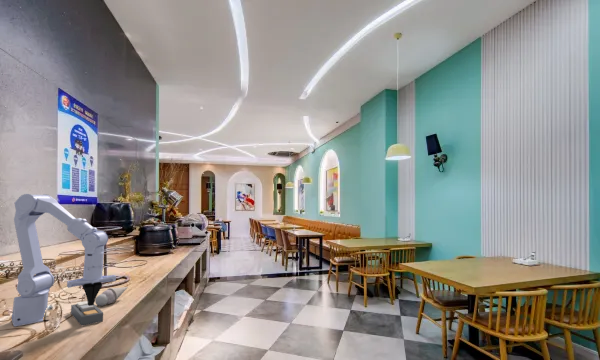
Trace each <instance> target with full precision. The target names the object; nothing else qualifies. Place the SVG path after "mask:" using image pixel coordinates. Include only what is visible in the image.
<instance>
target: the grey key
mask: <svg viewBox="0 0 600 360" xmlns="http://www.w3.org/2000/svg"><path fill="white" fill-rule="evenodd" d="M93 309H94V306H93V305H92V306H89V305H83V306H80V310H81V311H87V310H93Z"/></svg>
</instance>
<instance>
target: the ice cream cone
mask: <svg viewBox="0 0 600 360" xmlns="http://www.w3.org/2000/svg"><path fill="white" fill-rule="evenodd" d="M128 288H129V286H126V287H125V286H124V287H110V288H109V287H108V288H107V289H106V290H104V291H103V292H102V293H100V294H97V296H96V299H95V302H94V304H96V306H97V307H103V306H105V305H111V304H112V303H115V302H116V301H117V300H118V299H119V298H120V297H121V296H122V294H123V293H125V292H126V290H127V289H128Z"/></svg>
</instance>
